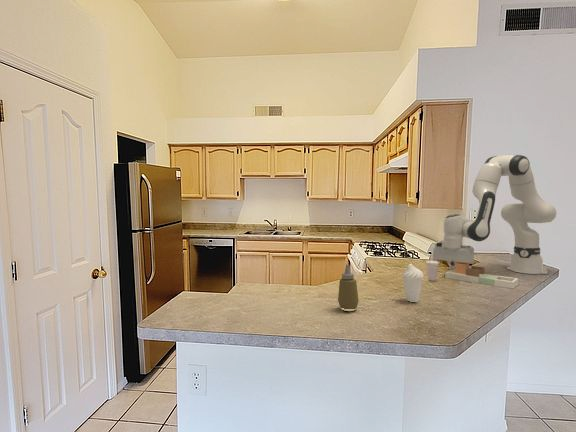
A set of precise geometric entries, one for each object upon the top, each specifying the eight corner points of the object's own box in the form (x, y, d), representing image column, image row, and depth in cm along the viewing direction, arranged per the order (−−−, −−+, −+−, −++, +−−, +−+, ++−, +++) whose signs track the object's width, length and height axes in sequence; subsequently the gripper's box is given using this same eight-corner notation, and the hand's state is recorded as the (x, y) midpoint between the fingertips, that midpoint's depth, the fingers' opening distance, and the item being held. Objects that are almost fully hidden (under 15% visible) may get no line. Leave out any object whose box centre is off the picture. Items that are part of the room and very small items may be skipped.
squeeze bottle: (359, 307, 126) (359, 263, 125) (357, 314, 118) (356, 267, 118) (339, 305, 129) (339, 262, 128) (336, 312, 121) (335, 266, 120)
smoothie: (436, 278, 168) (436, 252, 167) (441, 281, 162) (441, 254, 161) (424, 278, 169) (424, 252, 168) (428, 281, 162) (428, 254, 162)
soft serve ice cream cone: (423, 299, 134) (423, 262, 133) (423, 305, 126) (422, 266, 126) (403, 297, 137) (402, 261, 137) (401, 303, 130) (400, 265, 129)
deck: (452, 274, 176) (452, 263, 175) (518, 284, 153) (518, 271, 153) (445, 277, 169) (445, 266, 169) (513, 288, 146) (513, 275, 146)
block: (458, 271, 171) (459, 262, 170) (469, 272, 167) (469, 263, 166) (455, 272, 167) (455, 263, 167) (465, 274, 164) (465, 264, 163)
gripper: (476, 245, 164) (475, 271, 165) (436, 242, 180) (436, 265, 180) (471, 246, 160) (471, 273, 161) (431, 243, 176) (431, 267, 176)
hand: (452, 269), depth 171 cm, fingers closed
